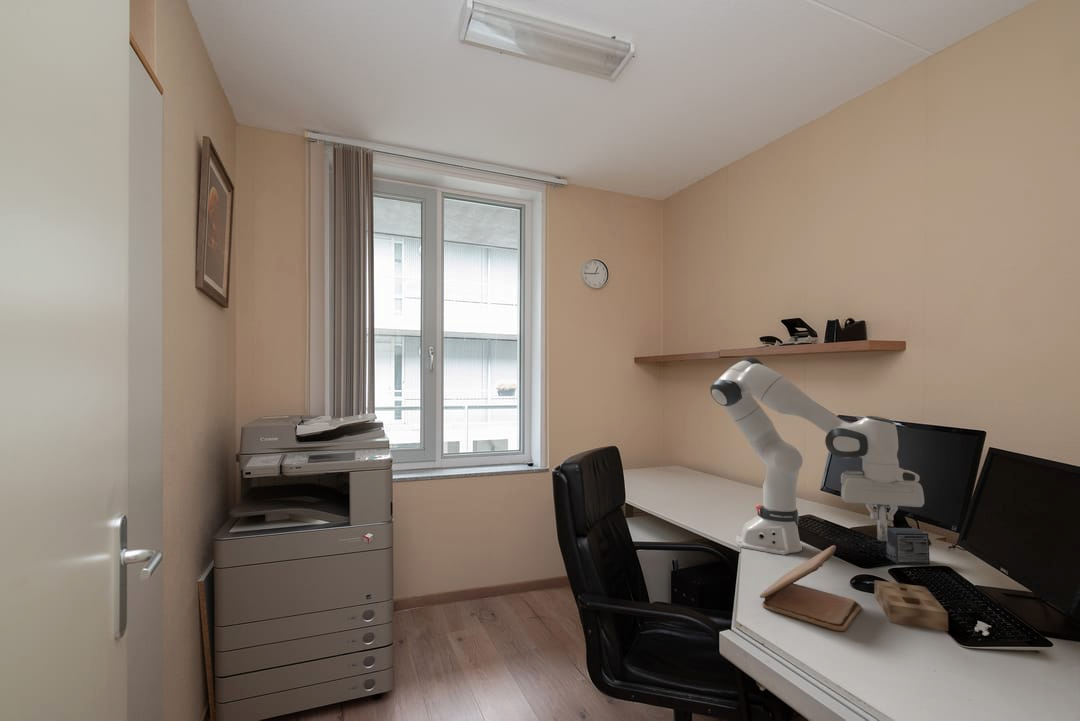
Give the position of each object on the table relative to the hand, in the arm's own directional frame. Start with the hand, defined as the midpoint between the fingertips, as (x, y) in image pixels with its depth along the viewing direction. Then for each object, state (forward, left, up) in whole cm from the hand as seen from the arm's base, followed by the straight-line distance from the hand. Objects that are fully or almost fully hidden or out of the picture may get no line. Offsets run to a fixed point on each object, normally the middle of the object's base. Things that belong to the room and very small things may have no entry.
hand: (881, 519), depth 143 cm
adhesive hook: (+18, -17, -22) cm, 33 cm away
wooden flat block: (+3, -12, -21) cm, 24 cm away
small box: (+14, +31, -21) cm, 41 cm away
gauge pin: (0, 0, -6) cm, 6 cm away
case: (-21, -18, -22) cm, 35 cm away
